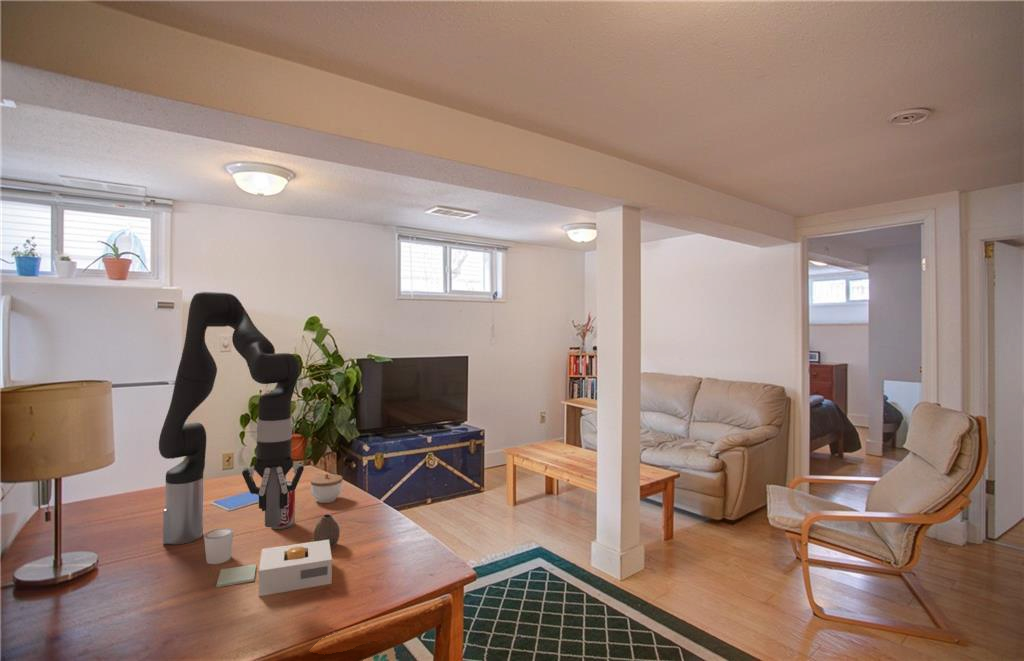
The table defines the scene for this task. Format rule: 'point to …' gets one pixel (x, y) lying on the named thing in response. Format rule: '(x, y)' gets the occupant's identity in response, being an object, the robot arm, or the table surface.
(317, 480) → the lidded jar
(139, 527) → the table surface
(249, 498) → the tablet computer
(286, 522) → the soda can
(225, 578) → the pad
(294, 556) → the button
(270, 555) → the box
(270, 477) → the rod
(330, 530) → the vase
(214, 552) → the white cylindrical tub
